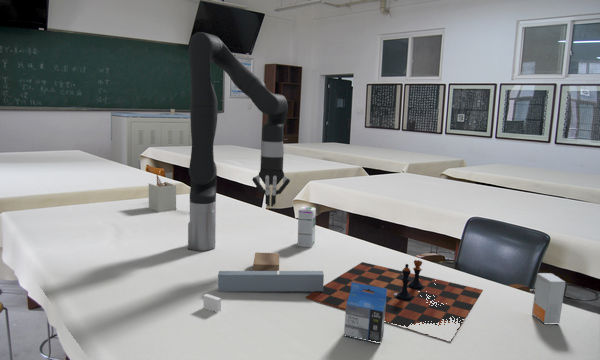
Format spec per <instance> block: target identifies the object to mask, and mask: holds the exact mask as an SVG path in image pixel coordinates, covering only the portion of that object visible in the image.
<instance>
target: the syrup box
mask: <svg viewBox="0 0 600 360" xmlns="http://www.w3.org/2000/svg"><path fill="white" fill-rule="evenodd" d="M316 210H317V209H316V207H314V206H301V207H300V208H299V209H298V213H297V214H298V217H297V220H298V221H297V246H298V247H303V248H311V249H312V247H314V245H315V242H316V241H315V240H316V238H315V237H316V212H317V211H316Z"/></svg>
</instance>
